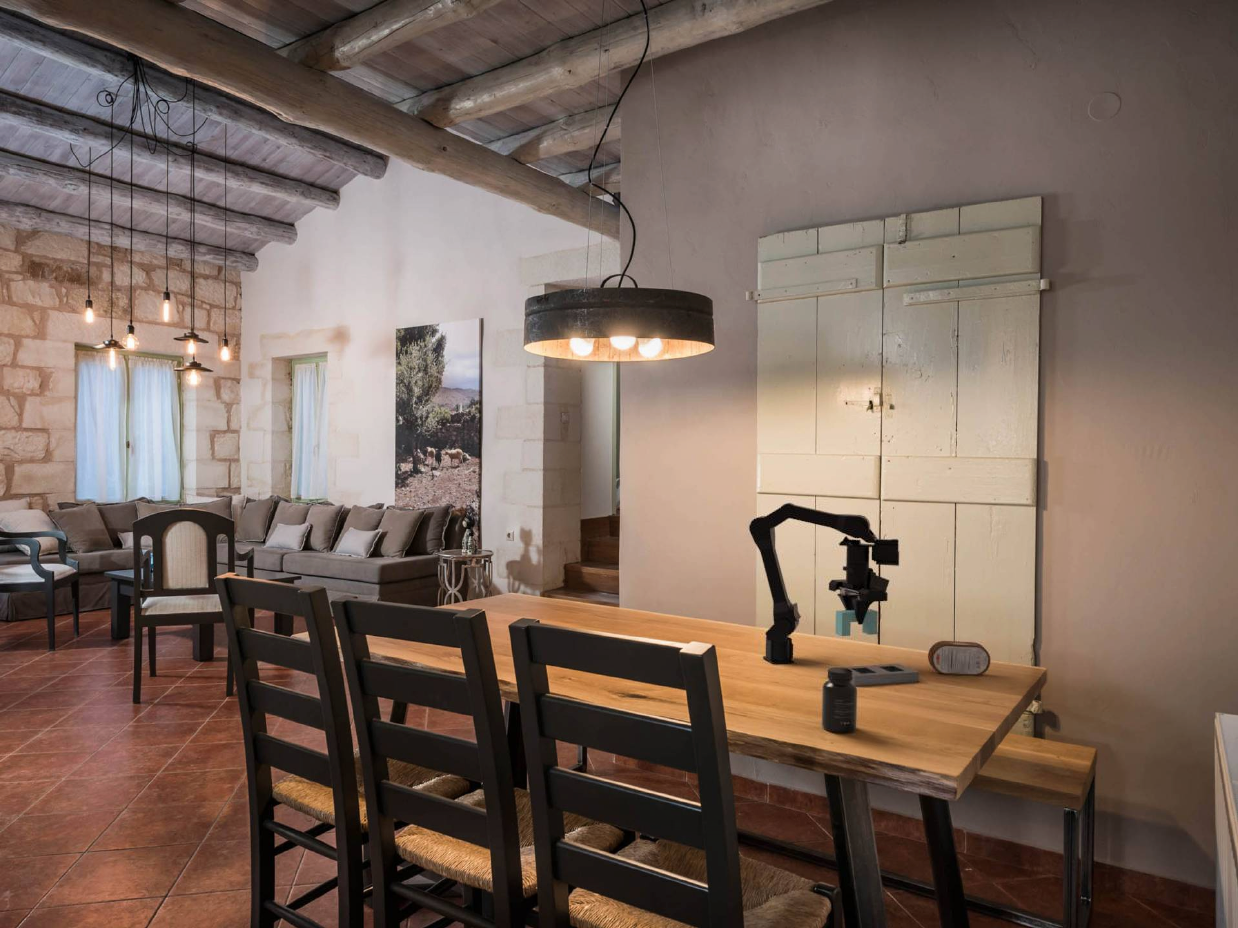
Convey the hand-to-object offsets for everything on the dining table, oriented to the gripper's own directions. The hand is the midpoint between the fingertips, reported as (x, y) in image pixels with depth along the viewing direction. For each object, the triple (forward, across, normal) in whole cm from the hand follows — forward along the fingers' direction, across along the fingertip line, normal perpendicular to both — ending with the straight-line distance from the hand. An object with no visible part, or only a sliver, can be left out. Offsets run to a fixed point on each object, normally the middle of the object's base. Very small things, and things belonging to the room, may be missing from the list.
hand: (856, 623), depth 208 cm
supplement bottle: (+12, -40, +29) cm, 51 cm away
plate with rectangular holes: (+12, -10, 0) cm, 16 cm away
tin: (+12, -10, -24) cm, 29 cm away
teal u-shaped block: (+3, 0, 0) cm, 3 cm away
